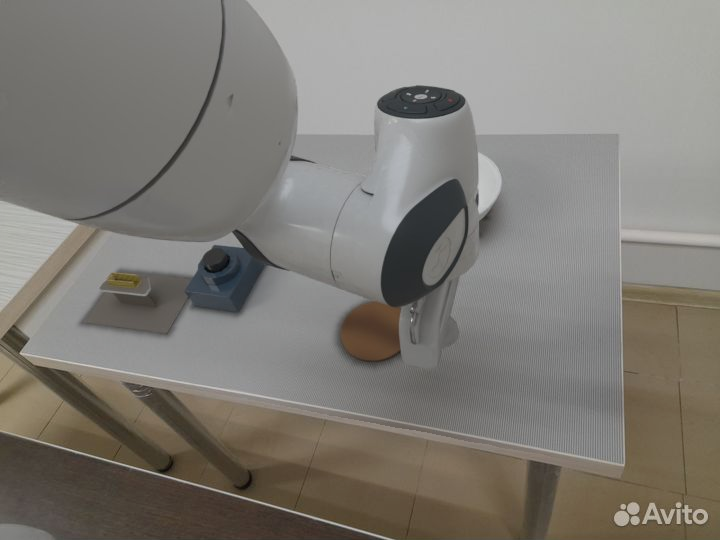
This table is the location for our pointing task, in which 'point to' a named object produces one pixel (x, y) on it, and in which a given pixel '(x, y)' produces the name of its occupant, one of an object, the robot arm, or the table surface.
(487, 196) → the bowl
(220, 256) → the dark grey push button
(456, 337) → the rook chess piece
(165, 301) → the platform
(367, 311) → the coaster
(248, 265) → the blue push button box
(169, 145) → the robot arm
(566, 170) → the table surface
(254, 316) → the table surface
